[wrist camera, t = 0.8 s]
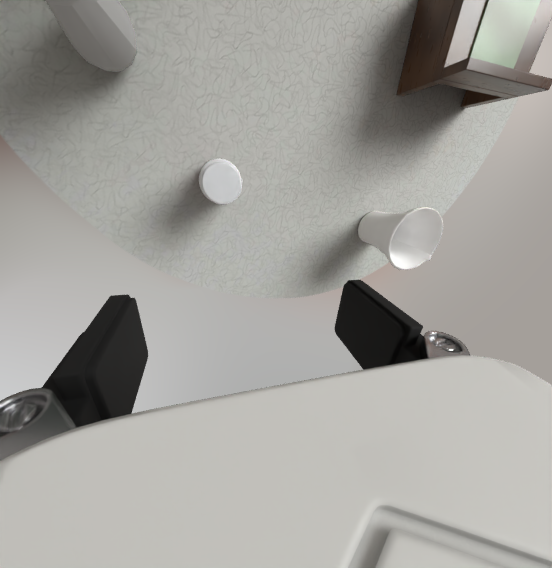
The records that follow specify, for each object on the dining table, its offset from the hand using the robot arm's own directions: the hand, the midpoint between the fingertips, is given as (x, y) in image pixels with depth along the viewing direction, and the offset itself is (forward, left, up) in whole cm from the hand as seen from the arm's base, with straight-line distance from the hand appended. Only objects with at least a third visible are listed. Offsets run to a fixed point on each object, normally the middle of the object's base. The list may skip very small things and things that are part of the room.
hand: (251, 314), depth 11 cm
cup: (+2, +26, -26) cm, 37 cm away
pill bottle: (-4, 0, -26) cm, 27 cm away
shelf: (-21, +31, -26) cm, 46 cm away
